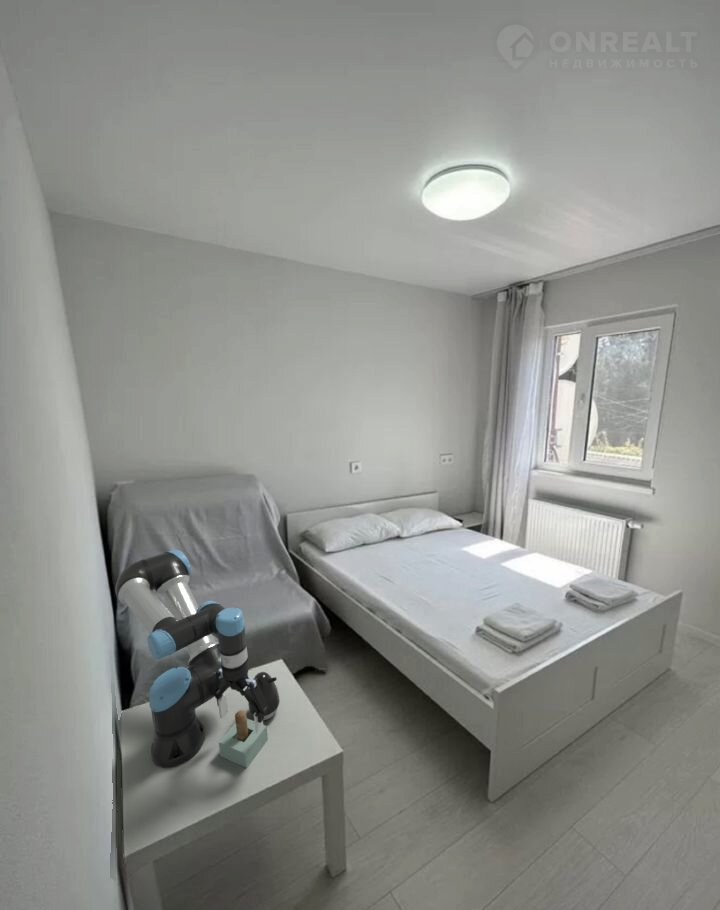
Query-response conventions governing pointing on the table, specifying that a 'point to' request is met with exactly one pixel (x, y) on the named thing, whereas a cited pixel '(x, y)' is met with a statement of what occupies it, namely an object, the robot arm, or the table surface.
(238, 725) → the peg
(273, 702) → the pump dispenser
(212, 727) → the table surface
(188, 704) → the robot arm
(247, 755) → the socket block
